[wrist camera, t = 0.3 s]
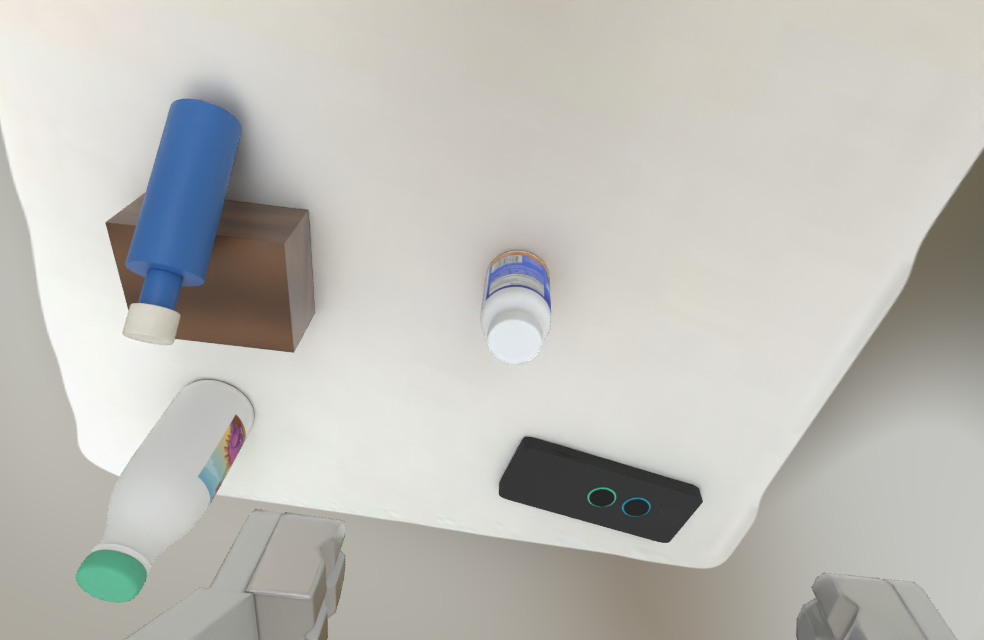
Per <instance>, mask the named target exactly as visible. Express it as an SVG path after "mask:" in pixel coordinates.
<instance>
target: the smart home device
mask: <svg viewBox="0 0 984 640" xmlns="http://www.w3.org/2000/svg"><path fill="white" fill-rule="evenodd" d="M499 495H500V496H501V497H503V498H505V499H508V500H511V501H515V502H518V503H522V504H525V505H529V506H532V507H536V508H540V509H543V510H547V511H550V512H554V513H557V514H561V515H565V516H568V517H572V518H575V519H579V520H582V521H586V522H589V523H593V524H597V525H600V526H604V527H607V528H611V529H614V530H618V531H621V532H625V533H629V534H632V535H636V536H639V537H643V538H646V539H650V540H653V541H657V542H662V543H668V542H670V541H671V540H672V538H673V537H674V536H675V535H676V534H677V532H678V531H679V530H680V529H681V528H682V526H683V525H684V524H685V523H686V522H687V520H688V519H689V518H690V517H691V516H692V514H693V513H694V512H695V511H696V510H697V508H698V507H699V506H700V505H701V504H702V502H703V500H702V497H701V494H700V490H699V488H697V487H696V486H694V485H691V484H687V483H684V482H681V481H677V480H674V479H671V478H667V477H664V476H660V475H657V474H654V473H650V472H647V471H644V470H640V469H637V468H634V467H630V466H627V465H624V464H620V463H617V462H614V461H610V460H607V459H603V458H600V457H597V456H593V455H590V454H587V453H583V452H580V451H577V450H573V449H570V448H567V447H563V446H560V445H556V444H553V443H550V442H546V441H543V440H540V439H536V438H532V437H524V438H523V439H522V441H521V443H520V445H519V447H518V449H517V451H516V453H515V454H514V456H513V458H512V460H511V462H510V464H509V466H508V468H507V469H506V471H505V473H504V475H503V477H502V479H501V481H500V483H499Z"/></svg>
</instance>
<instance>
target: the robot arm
mask: <svg viewBox="0 0 984 640" xmlns="http://www.w3.org/2000/svg"><path fill="white" fill-rule="evenodd" d="M344 537H345V529H344V521H342V520H337V519H330V518H323V517H316V516H308V515H301V514H293V513H286V512H285V513H283V512H276V511H268V510H261V509H255V510H254V511H253V512H252V513H251V514H250V515H249V516H248V517H247V519H246V521H245V523H244V525H243V526H242V528H241V530H240V532H239V534H238V536H237V538H236V540H235V541H234V543H233V545H232V547H231V549H230V551H229V552H228V554H227V556H226V558H225V560H224V562H223V563H222V565H221V567H220V569H219V571H218V573H217V574H216V576H215V578H214V580H213V582H212V584H211V586H210V587H209V588H199V589H197V590H196V591H194V592H193V593H191V594H190V595H188V596H187V597H185V598H184V599H182V600H181V601H180V602H178V603H177V604H175V605H174V606H172V607H171V608H169V609H168V610H166V611H165V612H163V613H162V614H161V615H159V616H157V617H156V618H155V619H153V620H152V621H150V622H149V623H147V624H146V625H144V626H143V627H141V628H140V629H138V630H137V631H136V632H134V633H133V634H131V635H130V636H128V637H127V638H125V639H124V640H327V638H328V618H329V617H331V616H332V615H333V614H334V613H335V612H336V609H337V606H338V602H339V599H340V595H341V590H342V585H343V580H344V572H345V554H344V553H343V552H342V551H341V550H340V549H341V546H342V543H343V540H344ZM812 590H813V592H814V594H815V596H816V598H814V599H813V600H811V601H809V602H808V603H806V604H804V605H803V606H802V608H801V611H800V613H799V615H798V618H797V629H796V636H797V640H957V638H956V637H955V635H954V634H953V632H952V631H951V629H950V628H949V626H948V625H947V624H946V622H945V620H944V619H943V618H942V616H941V615H940V613H939V612H938V610H937V609H936V607H935V606H934V604H933V603H932V601H931V600H930V598H929V597H928V595H927V594H926V593H925V591H924V590H923V589H922V588H921V587H920V586H919V585H917V584H916V583H915V582H908V581H899V580H889V579H879V578H871V577H861V576H851V575H841V574H831V573H823V574H821V575H820V576H818V577H817V578H816V580H815V582H814V584H813V586H812Z"/></svg>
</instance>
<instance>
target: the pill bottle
mask: <svg viewBox="0 0 984 640" xmlns="http://www.w3.org/2000/svg"><path fill="white" fill-rule="evenodd" d="M480 321H481V328H482V330H483V333H484V335H485V336H486V337H487V345H488V348H489V350H490V352H491V353H492V355H493V356H494V357H495V358H497V359H498V360H500V361H502V362H505V363H508V364H522V363H526V362H528V361H530V360H532V359H533V358H535V357H536V356H537V354H538V353H539V351H540V350H541V347H542V341H543V340H544V339H545V338H546V336H547V335H548V333H549V331H550V327H551V300H550V278H549V273H548V270H547V268H546V266H545V264H544V263H543V262H542V261H541V260H540V259H539V258H538V257H537V256H535V255H533V254H531V253H529V252H525V251H510V252H506V253H504V254H502V255H500V256H499V257H497V258H496V259H495V260H494V261H493V262H492V263H491V265H490V266H489V268H488V271H487V274H486V279H485V288H484V295H483V302H482V309H481V318H480Z"/></svg>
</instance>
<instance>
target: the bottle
mask: <svg viewBox="0 0 984 640" xmlns="http://www.w3.org/2000/svg"><path fill="white" fill-rule="evenodd" d="M241 132H242V127H241V125H240V123H239V121H238V120H237V119H236V118H235V117H234V116H233V115H231V114H230V113H229V112H227V111H225V110H224V109H222V108H220V107H218V106H216V105H213V104H210V103H208V102H204V101H200V100H195V99H180V100H177V101H175V102H173V103H172V104H171V107H170V110H169V114H168V117H167V120H166V124H165V127H164V131H163V134H162V138H161V141H160V145H159V148H158V152H157V155H156V159H155V162H154V166H153V169H152V173H151V176H150V180H149V183H148V187H147V190H146V194H145V197H144V200H143V204H142V207H141V211H140V214H139V218H138V221H137V225H136V228H135V232H134V235H133V239H132V242H131V246H130V249H129V253H128V256H127V260H126V263H125V265H126V267H127V268H128V269H129V270H131V271H132V272H134V273H136V274H138V275H141V276H143V277H145V280H144V284H143V287H142V291H141V294H140V298H139V302H138V303H133V304H131V305H130V308H129V311H128V315H127V318H126V322H125V325H124V329H123V333H122V334H123V335H124V336H126V337H128V338H131V339H134V340H138V341H142V342H147V343H153V344H161V345H171V344H173V343H174V339H175V336H176V332H177V328H178V324H179V320H180V314H179V313H178V312H176V311H175V309H176V305H177V301H178V297H179V293H180V289H181V286H200V285H202V284H203V283H204V281H205V277H206V273H207V269H208V265H209V261H210V257H211V253H212V249H213V245H214V241H215V237H216V233H217V228H218V224H219V220H220V216H221V212H222V208H223V204H224V200H225V196H226V192H227V188H228V184H229V180H230V176H231V172H232V168H233V164H234V160H235V156H236V152H237V148H238V144H239V140H240V136H241Z"/></svg>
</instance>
